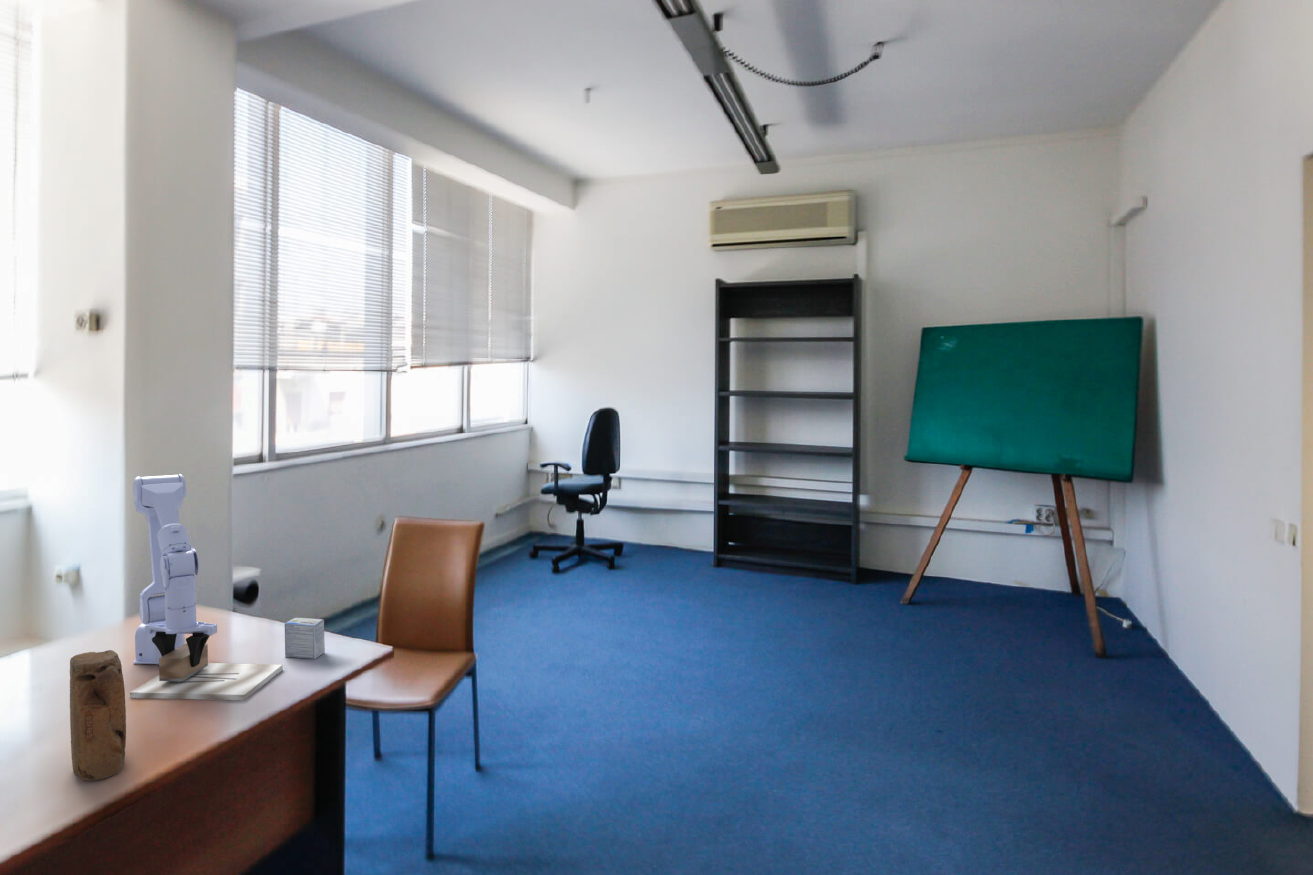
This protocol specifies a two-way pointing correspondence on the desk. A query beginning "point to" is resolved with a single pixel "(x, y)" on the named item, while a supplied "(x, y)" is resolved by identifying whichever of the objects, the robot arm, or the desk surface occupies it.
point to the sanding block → (180, 664)
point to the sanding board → (212, 683)
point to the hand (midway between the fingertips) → (182, 665)
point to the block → (97, 714)
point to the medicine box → (304, 638)
